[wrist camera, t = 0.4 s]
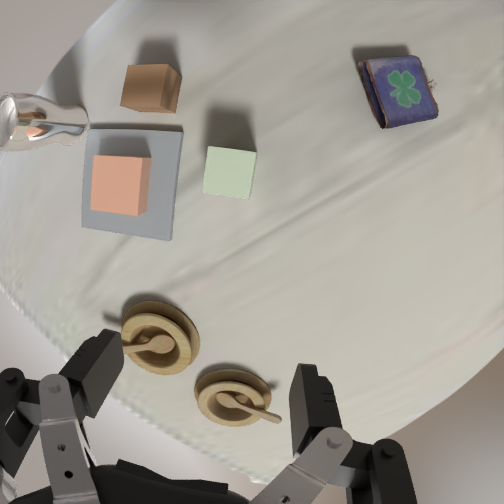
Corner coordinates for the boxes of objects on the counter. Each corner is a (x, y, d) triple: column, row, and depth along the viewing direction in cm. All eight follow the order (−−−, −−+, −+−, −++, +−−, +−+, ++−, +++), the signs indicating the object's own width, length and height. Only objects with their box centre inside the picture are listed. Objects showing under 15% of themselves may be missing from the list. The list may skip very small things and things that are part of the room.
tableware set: (300, 386, 46) (304, 411, 41) (223, 429, 51) (219, 452, 45) (166, 269, 40) (152, 286, 35) (102, 338, 45) (87, 357, 39)
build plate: (91, 129, 34) (75, 128, 30) (183, 132, 34) (174, 130, 30) (85, 225, 38) (70, 232, 34) (171, 239, 38) (162, 248, 34)
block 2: (217, 148, 34) (208, 146, 29) (257, 153, 35) (256, 152, 29) (211, 187, 36) (201, 192, 30) (251, 193, 36) (248, 199, 30)
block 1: (146, 77, 32) (128, 65, 26) (182, 77, 32) (168, 64, 26) (140, 111, 33) (120, 105, 27) (175, 113, 33) (160, 105, 27)
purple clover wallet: (362, 57, 27) (427, 52, 26) (354, 64, 30) (417, 58, 29) (388, 128, 29) (450, 116, 29) (378, 130, 32) (438, 118, 31)
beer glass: (91, 143, 34) (18, 144, 20) (56, 153, 35) (-16, 160, 20) (90, 97, 32) (19, 81, 18) (55, 109, 33) (-16, 103, 18)
